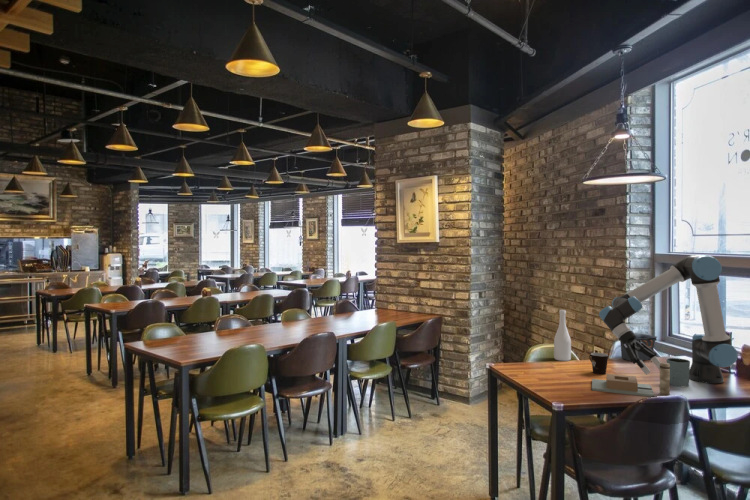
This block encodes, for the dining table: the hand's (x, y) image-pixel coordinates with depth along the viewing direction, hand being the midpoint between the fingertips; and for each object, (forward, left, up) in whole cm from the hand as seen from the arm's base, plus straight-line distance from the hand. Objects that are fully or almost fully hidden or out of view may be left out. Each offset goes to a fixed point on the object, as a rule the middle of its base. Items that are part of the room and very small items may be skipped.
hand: (655, 371), depth 233 cm
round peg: (-4, +1, -10) cm, 11 cm away
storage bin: (+2, -71, -10) cm, 72 cm away
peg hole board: (+14, 0, -10) cm, 18 cm away
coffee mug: (+24, -29, -10) cm, 39 cm away
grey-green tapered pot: (-12, -20, -10) cm, 25 cm away
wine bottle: (+44, -53, -10) cm, 70 cm away
